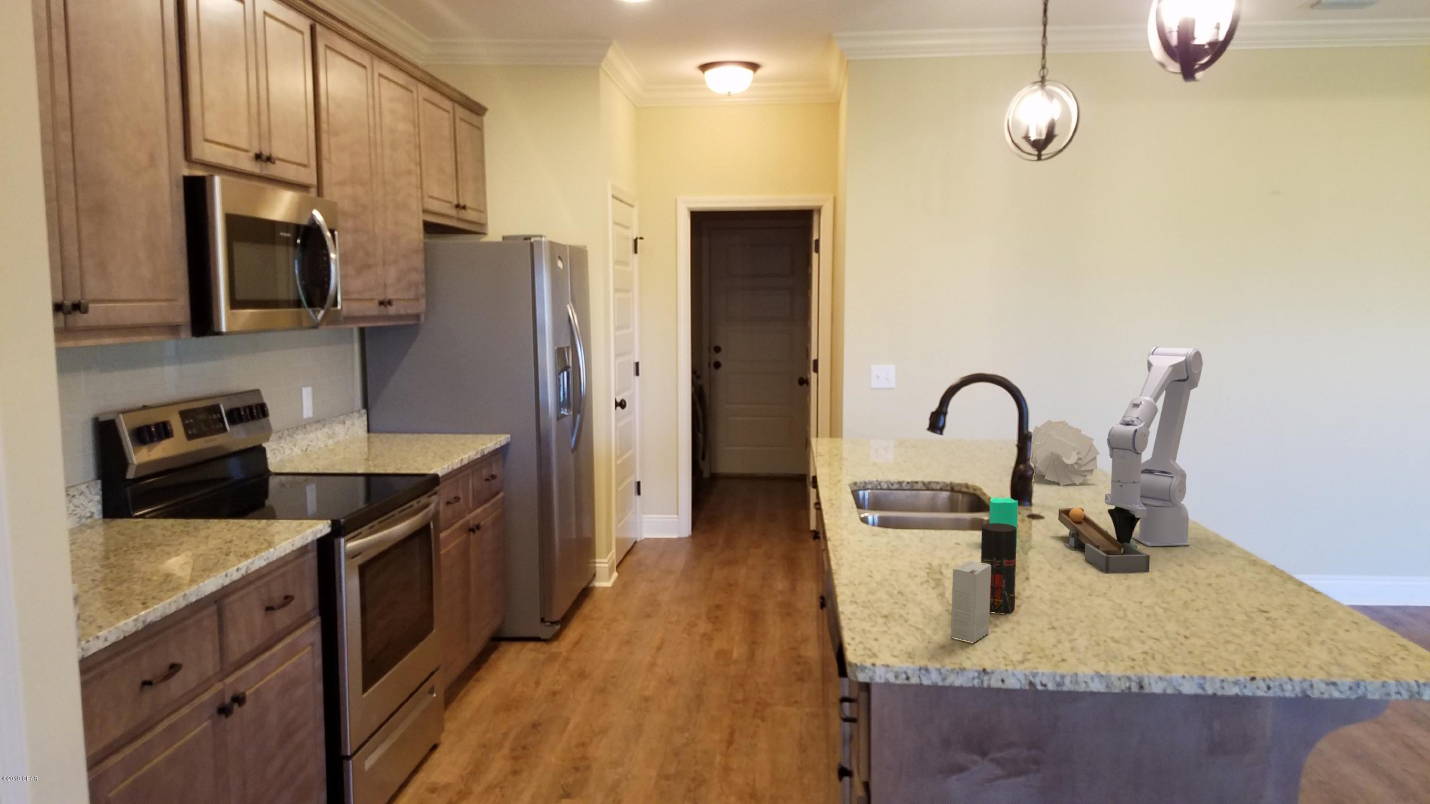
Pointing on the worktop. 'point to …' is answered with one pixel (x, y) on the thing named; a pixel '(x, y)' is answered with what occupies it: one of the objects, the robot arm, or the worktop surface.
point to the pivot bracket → (1075, 542)
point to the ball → (1076, 515)
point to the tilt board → (1092, 533)
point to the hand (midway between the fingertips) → (1123, 542)
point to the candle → (1004, 511)
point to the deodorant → (1000, 564)
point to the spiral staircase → (1063, 453)
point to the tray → (1118, 559)
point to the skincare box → (971, 601)
